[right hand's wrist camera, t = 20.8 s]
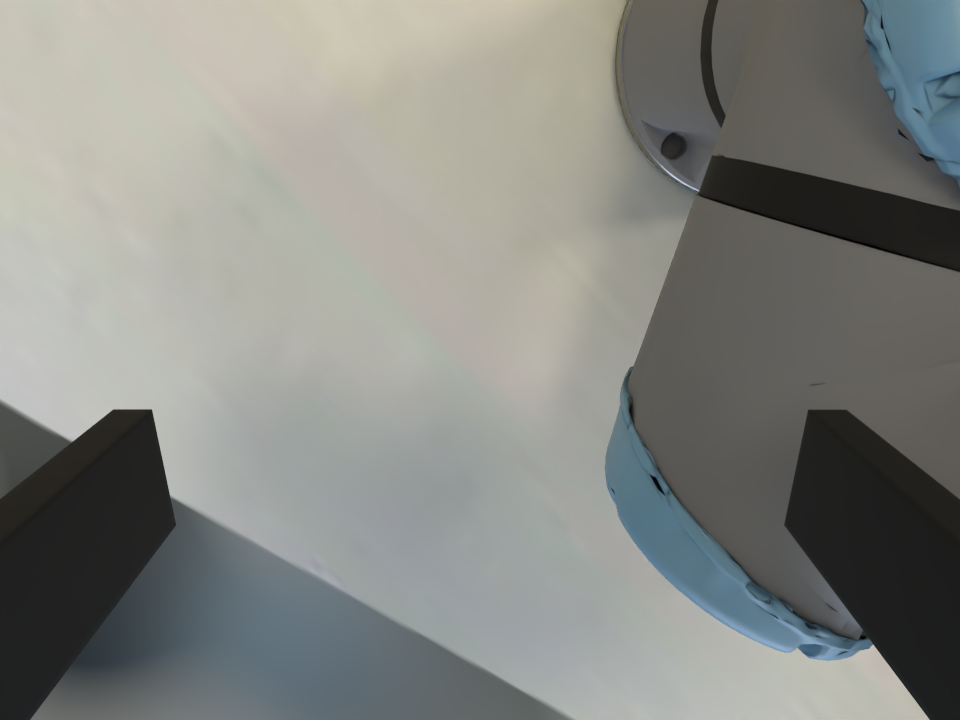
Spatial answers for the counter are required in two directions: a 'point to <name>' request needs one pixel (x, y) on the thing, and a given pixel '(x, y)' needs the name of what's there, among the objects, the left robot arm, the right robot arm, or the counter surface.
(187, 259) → the counter surface
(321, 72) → the counter surface
